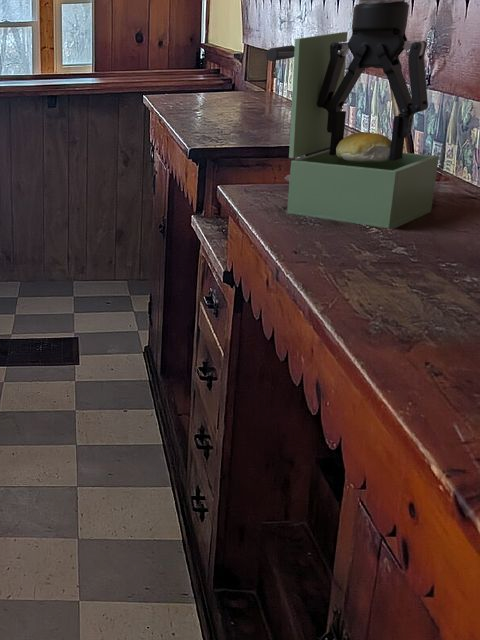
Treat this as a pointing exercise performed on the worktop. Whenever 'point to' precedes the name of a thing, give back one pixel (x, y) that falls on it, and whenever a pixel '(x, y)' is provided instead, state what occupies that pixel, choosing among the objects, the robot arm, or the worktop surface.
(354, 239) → the worktop surface
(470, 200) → the worktop surface
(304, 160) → the bread bin
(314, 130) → the bin lid
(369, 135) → the bread roll
